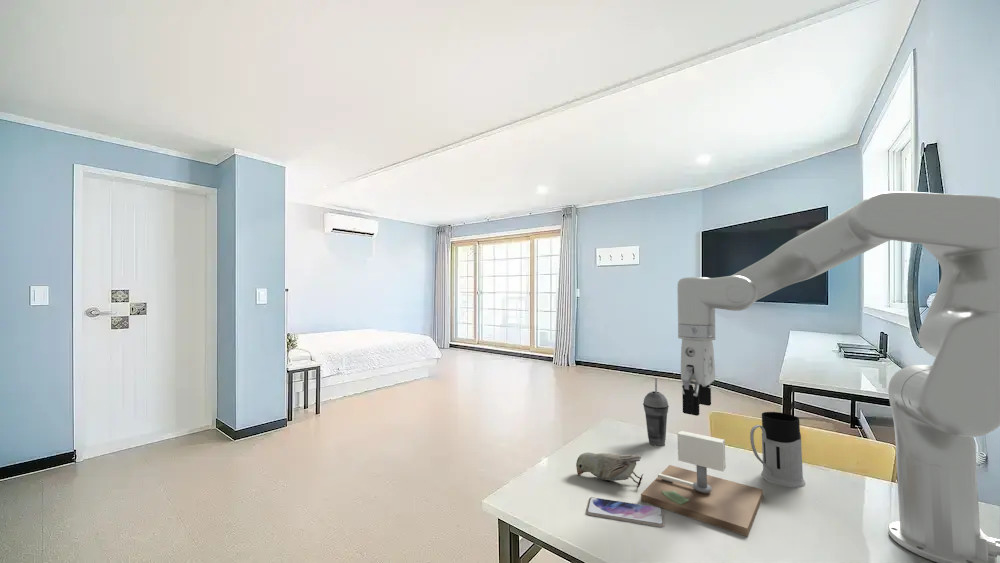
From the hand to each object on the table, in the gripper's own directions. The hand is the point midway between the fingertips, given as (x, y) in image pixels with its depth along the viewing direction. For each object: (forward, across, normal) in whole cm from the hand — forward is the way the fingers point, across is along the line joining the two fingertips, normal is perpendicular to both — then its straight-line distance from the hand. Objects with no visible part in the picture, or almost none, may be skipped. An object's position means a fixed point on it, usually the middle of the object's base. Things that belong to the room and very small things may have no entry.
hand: (697, 409), depth 87 cm
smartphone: (+20, -16, +10) cm, 28 cm away
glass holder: (+19, +20, -12) cm, 30 cm away
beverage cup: (+20, +26, +18) cm, 38 cm away
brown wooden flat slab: (+20, 0, -1) cm, 20 cm away
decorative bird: (+20, -5, +19) cm, 28 cm away
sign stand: (+18, 0, +2) cm, 18 cm away
